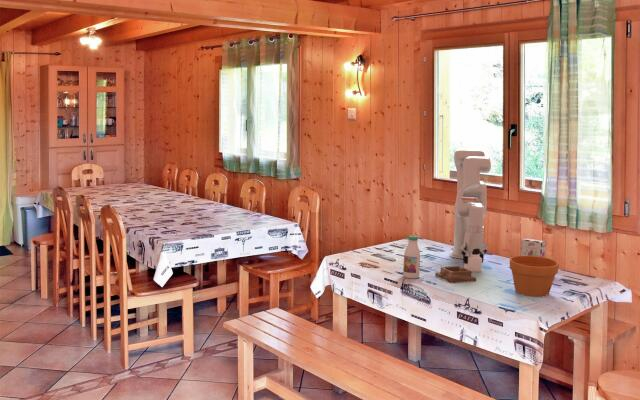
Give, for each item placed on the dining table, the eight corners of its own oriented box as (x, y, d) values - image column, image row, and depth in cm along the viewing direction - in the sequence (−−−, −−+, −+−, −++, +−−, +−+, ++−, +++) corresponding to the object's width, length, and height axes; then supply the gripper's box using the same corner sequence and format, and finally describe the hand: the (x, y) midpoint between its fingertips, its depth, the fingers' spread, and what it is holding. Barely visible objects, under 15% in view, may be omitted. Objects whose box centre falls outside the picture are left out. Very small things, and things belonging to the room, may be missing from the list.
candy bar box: (544, 272, 329) (546, 241, 326) (539, 274, 325) (542, 242, 323) (523, 268, 336) (525, 237, 334) (519, 269, 332) (521, 238, 330)
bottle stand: (435, 275, 315) (435, 266, 315) (459, 273, 321) (460, 264, 320) (451, 282, 303) (451, 273, 302) (476, 280, 308) (476, 271, 307)
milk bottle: (409, 274, 317) (411, 234, 314) (422, 277, 312) (424, 236, 309) (399, 276, 312) (401, 235, 309) (412, 279, 306) (414, 238, 304)
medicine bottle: (477, 268, 333) (478, 245, 331) (481, 271, 326) (483, 248, 324) (463, 268, 332) (465, 245, 331) (467, 271, 325) (469, 248, 324)
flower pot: (544, 302, 276) (547, 268, 274) (499, 292, 289) (501, 260, 287) (563, 293, 291) (566, 261, 289) (519, 283, 305) (522, 253, 303)
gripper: (485, 227, 333) (482, 260, 335) (456, 228, 326) (454, 262, 329) (493, 230, 326) (491, 263, 328) (464, 231, 320) (462, 265, 322)
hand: (473, 262), depth 328 cm, fingers closed on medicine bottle, 8 cm apart
